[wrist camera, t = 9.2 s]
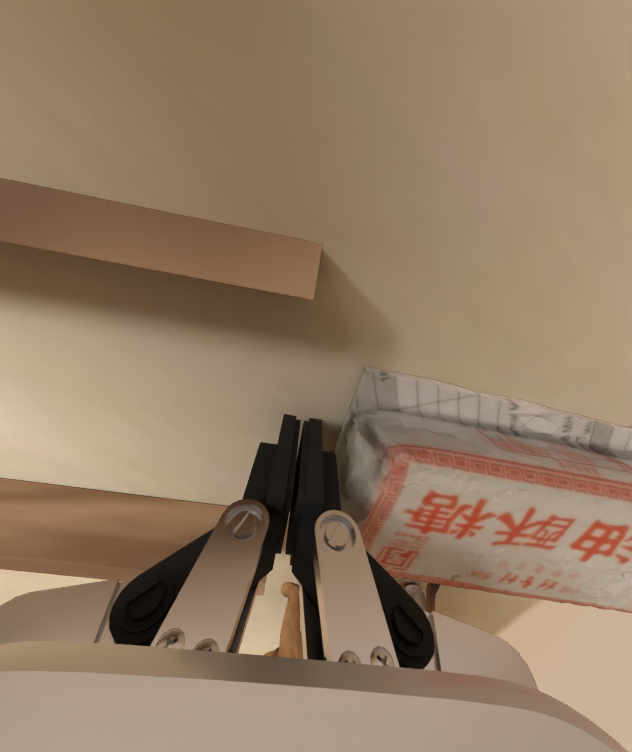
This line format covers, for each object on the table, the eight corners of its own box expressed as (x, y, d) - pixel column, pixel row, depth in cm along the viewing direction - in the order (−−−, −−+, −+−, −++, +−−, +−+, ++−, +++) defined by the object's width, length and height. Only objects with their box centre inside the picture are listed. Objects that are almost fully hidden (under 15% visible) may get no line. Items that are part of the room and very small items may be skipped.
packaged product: (306, 603, 11) (389, 422, 7) (310, 504, 15) (361, 356, 11) (652, 649, 12) (894, 530, 8) (565, 548, 17) (695, 436, 13)
